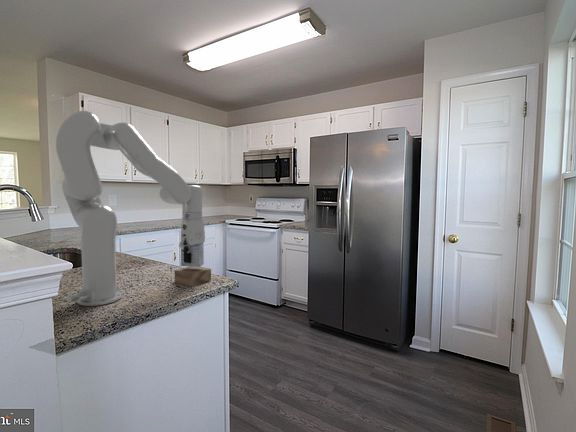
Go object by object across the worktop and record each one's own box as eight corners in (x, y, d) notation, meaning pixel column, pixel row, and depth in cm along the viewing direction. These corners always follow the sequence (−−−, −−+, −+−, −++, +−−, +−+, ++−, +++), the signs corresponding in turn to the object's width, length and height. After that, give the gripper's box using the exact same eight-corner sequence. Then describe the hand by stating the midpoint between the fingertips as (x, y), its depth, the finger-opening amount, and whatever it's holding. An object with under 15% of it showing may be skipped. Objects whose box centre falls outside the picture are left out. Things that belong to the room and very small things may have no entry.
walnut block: (191, 286, 119) (191, 273, 118) (174, 282, 124) (174, 270, 124) (211, 280, 127) (211, 268, 127) (194, 276, 133) (194, 265, 132)
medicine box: (203, 264, 127) (204, 243, 126) (199, 267, 122) (199, 245, 122) (185, 264, 128) (185, 243, 127) (180, 266, 123) (180, 244, 123)
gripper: (186, 218, 114) (186, 266, 116) (212, 215, 130) (212, 258, 132) (169, 217, 117) (170, 264, 118) (197, 214, 133) (197, 256, 134)
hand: (192, 260), depth 125 cm, fingers closed on medicine box, 5 cm apart
